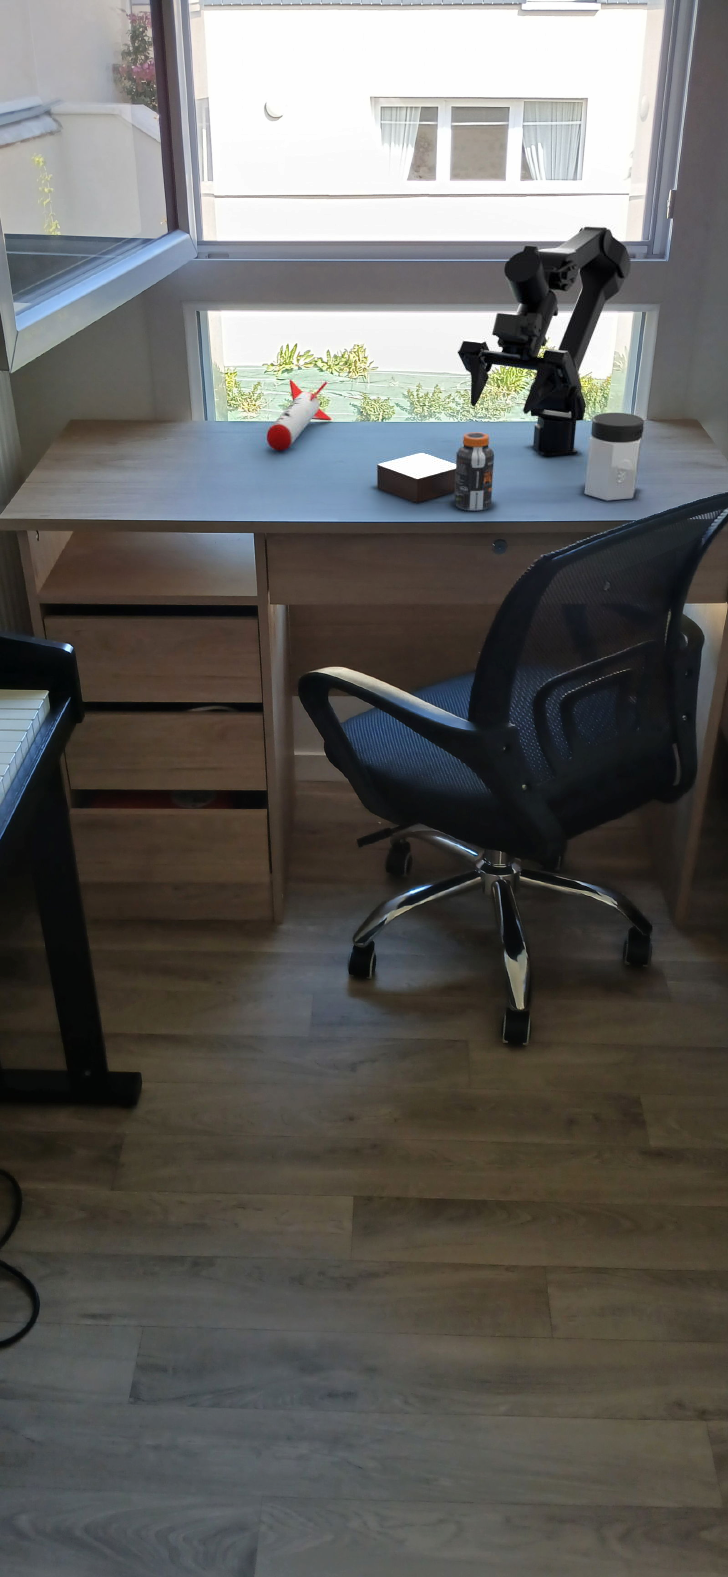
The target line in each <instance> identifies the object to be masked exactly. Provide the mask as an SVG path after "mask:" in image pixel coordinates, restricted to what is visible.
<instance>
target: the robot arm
mask: <svg viewBox="0 0 728 1577" xmlns="http://www.w3.org/2000/svg"><path fill="white" fill-rule="evenodd" d="M503 269H504V270H503V271H504V275H505V277H506V281H507V283H508V285H509V289H510V291H511V294H512V296H513V298H514V300H515V302H517V304H519V305H518V308H517V310H516V313H515V314H512V313H503V312H497V313H496V314H495V319H494V323H493V328H492V332H491V335H492V336H495V337H497V338H498V339H497V341H496V344H497V346H498V347H499V348H501V351H496V350H490V349H489V346H488V344H487V342H486V341H485V340H477V339H469V338H466V339H464V340H462V342H461V343H460V345H459V348H458V349H457V354H458V357H459V358H460V360H461V363H462V365H463V367H464V369H465V371H466V372H469V374H470V380H471V381H470V404H471V406H472V407H475V406H477V403H478V402H479V401H480V398H481V396H482V393H483V392H484V389H485V387H486V385H487V383H488V381H489V378H490V376H489V374H488V373H489V372H491V370H492V367H493V365H495V366H501V367H502V366H503V367H510V368H514V369H523V370H529V371H536V375H535V377H534V378H533V379H534V381H532V383H531V384H530V388H529V393H528V395H527V397H526V399H525V402H524V406H523V409H522V411H523V414H525V415H528V414H529V413H530V416H531V417H537V423H535V424H534V428H533V430H534V431H533V440H532V442H533V443H532V444H531V447H532V448H533V449H534V450H535V451H537V452H538V453H539V454H541V455H542V456H543V457H554V456H555V457H556V456H566V455H576V454H578V450H577V449H576V448H575V439H576V431H577V430H576V428H577V422H580V421H584V416H585V413H586V408H587V404H586V401H585V400H586V399H585V397H584V395H583V392H582V388H583V386H582V382H581V377H580V373H579V371H580V368H581V365H582V363H583V361H584V358H585V355H586V353H587V350H588V348H589V345H590V342H591V340H592V337H593V335H594V332H595V329H596V328H597V324H598V321H599V319H600V317H601V314H602V313H603V312H602V311H603V309H604V306H605V304H606V302H607V301H608V300H610V299H611V298H613V296H615V295H616V294H618V293H619V292H620V290H621V288H622V287H623V284H624V282H625V280H626V279H627V278H628V277H629V275H630V270H631V257H630V255H629V252H628V249H627V247H626V245H625V244H623V243H622V242H621V241H619V239H617V238H615V237H614V236H613V233H612V231H611V229H609V228H607V227H605V226H591V225H590V226H589V225H585V226H584V227H580V228H579V231H578V232H577V233H575V235H573V236H571V237H570V238H569V239H568V240H566V241H565V242H563V243H562V244H561V245H559V246H558V247H554V248H553V247H551V248H542V249H539V248H538V246H537V245H528V244H527V245H524V248H523V249H522V251H518V252H517V253H515V254H514V255H512V256H511V257H510V258H509V259H508V260H507V261H506V262H505V265H504V268H503ZM578 275H579V280H580V284H581V289H580V293H579V295H578V296H577V300H576V302H575V304H574V307H573V310H572V312H571V315H570V317H569V320H568V323H567V325H566V327H565V329H564V332H563V336H562V338H561V340H560V343H559V345H558V348H557V349H553V348H547V349H544V352H543V354H542V356H539V354H540V351H541V348H542V347H546V344H547V342H548V341H547V340H548V339H547V337H546V335H547V332H548V330H549V329H550V328H549V327H550V325H551V323H552V320H553V317H557V316H558V315H559V307H558V304H559V300H558V297H557V295H556V293H555V292H565V293H566V292H567V291H569V290H570V289H571V287H572V286H574V284H575V283H576V281H577V277H578Z"/></svg>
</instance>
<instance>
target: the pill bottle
mask: <svg viewBox="0 0 728 1577" xmlns="http://www.w3.org/2000/svg"><path fill="white" fill-rule="evenodd" d="M462 438H463V439H462V444H463V446H461V447H460V448H458V449H457V452H456V456H455V458H456V460H455V464H456V477H455V492H454V505H455V506H456V507H457V508H458V509H461V510H464V511H484V510H486V509H489V508H490V507H491V506H492V498H493V497H492V496H493V478H494V465H495V464H494V462H495V453H494V451H493V449H492V448H490V447H489V444H490V436H489V434H487V433H484V432H479V431H476V432H475V431H473V432H466V433H464V434H463V437H462Z"/></svg>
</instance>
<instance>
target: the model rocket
mask: <svg viewBox="0 0 728 1577" xmlns="http://www.w3.org/2000/svg"><path fill="white" fill-rule="evenodd" d="M327 384H328V382H327V381H325V382H323V384H322V385H321V386H320V387H319V388H318V389H317V390H316V392H315V393H313V392H312V391H302V390H301V389H300V388H299V387H298V385H297V384H296V383H295V382H294V381H293V380H292V379H290V380H289V385H290V392H291V399H292V402H290V404H289V405H288V406H287V407H286V409H285V410H284V411H283V412H282V414H280V415H279V417H278V418H277V419H276V420H275V421H274V423H272V425H271V426H270V427H269V428H268V430H267V432H266V441H267V443H268V446H269V447H270V448H271V449H273V450H275V451H278V452H283V451H285V450H288V449H289V448H290V447H291V446H292V444H293V443H294V442H295V441H296V439H297V438H298V437H299V436H300V434H301V433H302V432H303V431H304V429H305V428H306V427H307V425H309V423H310V422H311V420H314V421H328V422H329V421H330V422H331V421H332V418H331V417H330V416H329V415H328V414H326V413H325V411H323V410H321V409H320V401H319V398H318V397H317V396H318V395H319V394H320V393H321V391H322V390H323V389H324V388H325V387H326V385H327Z"/></svg>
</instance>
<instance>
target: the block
mask: <svg viewBox="0 0 728 1577" xmlns="http://www.w3.org/2000/svg"><path fill="white" fill-rule="evenodd" d="M376 467H377V468H376V471H377V473H376V476H377V477H376V480H377V482H376V487H377V489H380V490H381V491H384V492H386V493H390V494H393V495H395V496H397V497H399V498H403V499H405V500H408V501H409V502H413V503H415V504H419V503H422V502H426V501H428V500H433V499H437V498H439V497H443V496H446V495H449V494H452V493H453V494H454V493H455V477H456V463H453V462H450V461H448V460H444V459H441V458H438V457H435V456H433V455H430V454H426V453H424V452H420V453H416V454H412V455H408V456H405V457H400V458H396V459H393V460H389V461H385V462H382V463H381V462H380V463H378V464H377V465H376Z"/></svg>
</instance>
